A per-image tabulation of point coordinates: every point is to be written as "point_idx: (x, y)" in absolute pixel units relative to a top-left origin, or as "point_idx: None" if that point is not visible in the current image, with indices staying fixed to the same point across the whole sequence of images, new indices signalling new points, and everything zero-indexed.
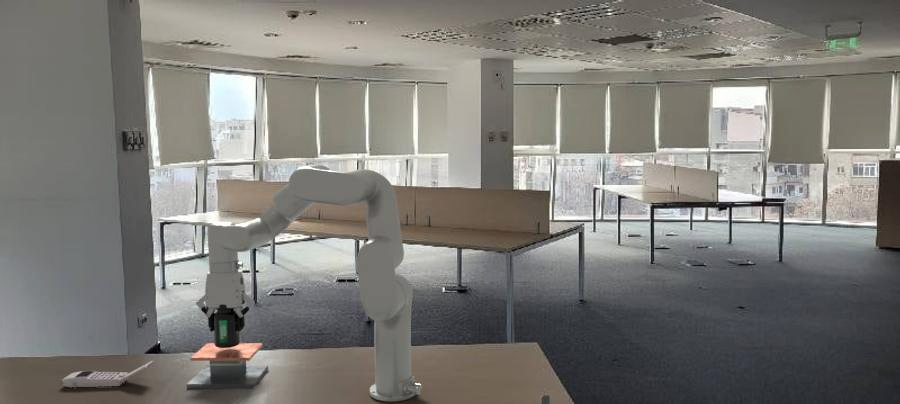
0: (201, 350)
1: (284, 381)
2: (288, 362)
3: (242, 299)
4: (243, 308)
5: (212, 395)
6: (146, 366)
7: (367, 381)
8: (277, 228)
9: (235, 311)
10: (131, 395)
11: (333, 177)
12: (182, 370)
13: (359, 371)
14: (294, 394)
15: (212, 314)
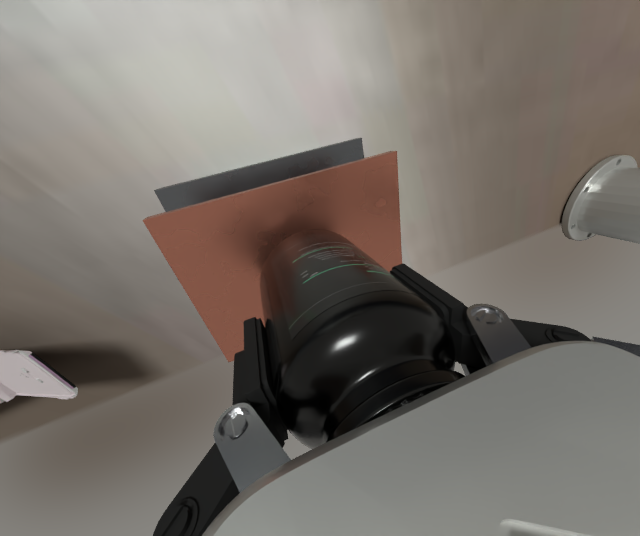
0: (205, 303)
1: (420, 207)
2: (392, 50)
3: (625, 375)
4: (522, 341)
5: None
6: (71, 390)
7: (568, 158)
8: None
9: (451, 368)
10: (131, 386)
11: None
12: (75, 220)
13: (565, 97)
14: (451, 259)
15: (281, 441)
